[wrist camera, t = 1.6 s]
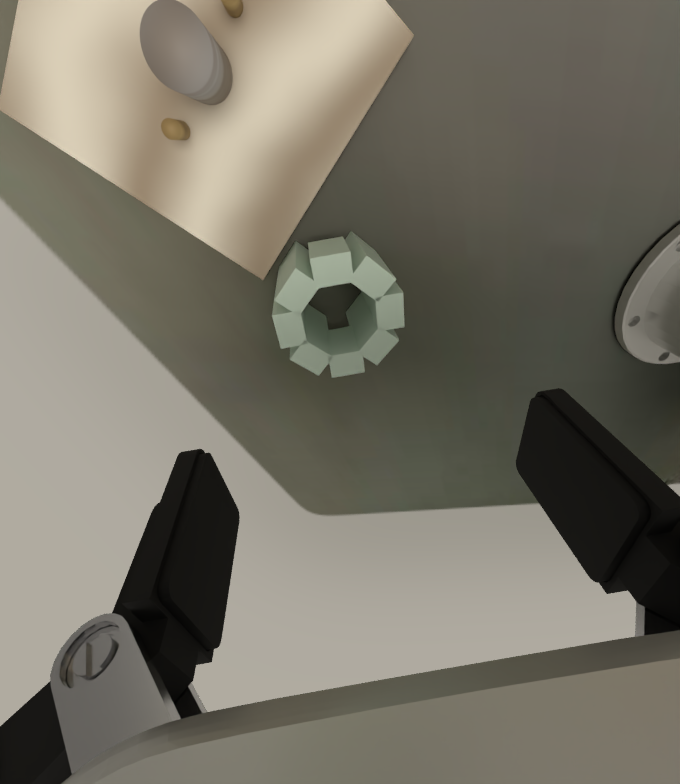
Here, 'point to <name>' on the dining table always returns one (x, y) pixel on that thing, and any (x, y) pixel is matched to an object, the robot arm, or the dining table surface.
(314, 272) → the collar
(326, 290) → the dining table surface
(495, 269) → the dining table surface
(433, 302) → the dining table surface
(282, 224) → the post base
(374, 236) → the dining table surface
